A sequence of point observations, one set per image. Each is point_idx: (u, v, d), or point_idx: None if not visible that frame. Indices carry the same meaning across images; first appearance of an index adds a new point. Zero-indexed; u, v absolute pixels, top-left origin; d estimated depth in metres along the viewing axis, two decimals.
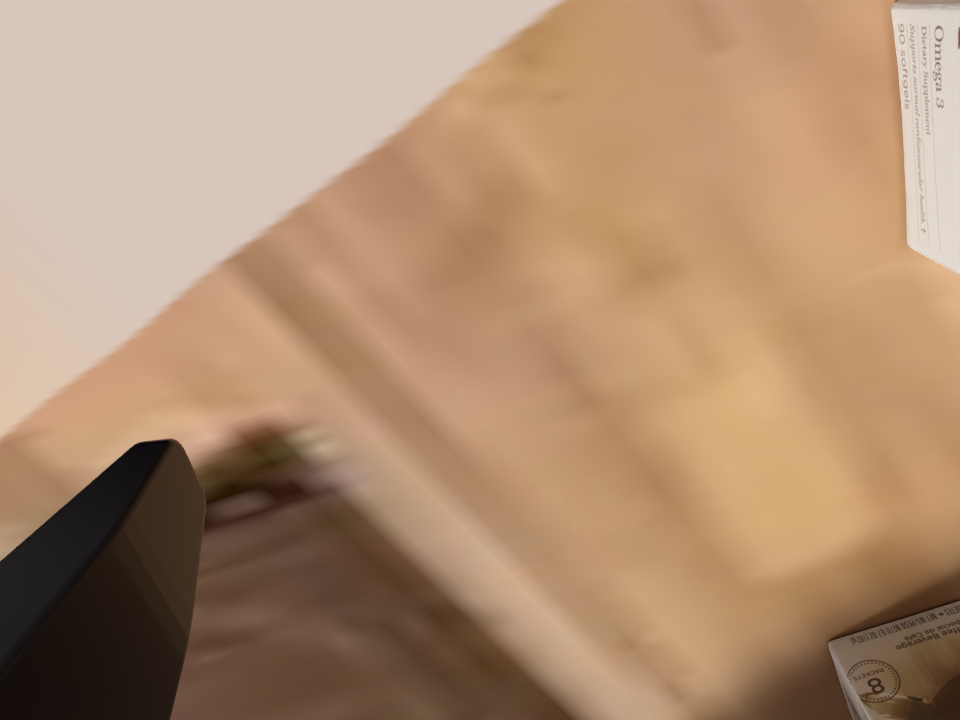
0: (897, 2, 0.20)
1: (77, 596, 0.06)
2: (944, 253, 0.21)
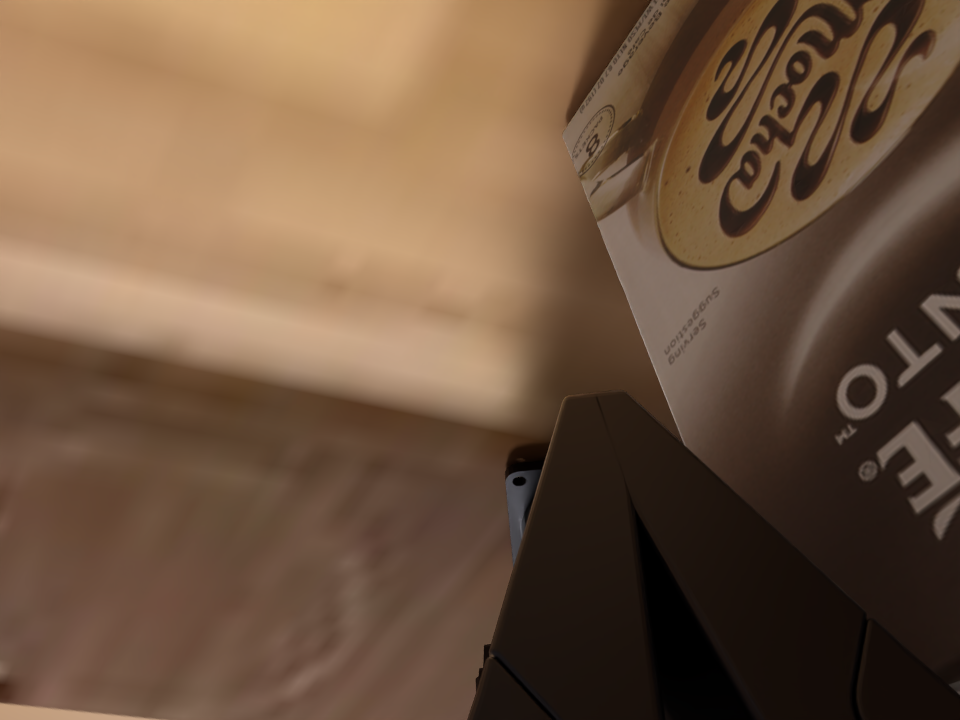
0: None
1: None
2: None
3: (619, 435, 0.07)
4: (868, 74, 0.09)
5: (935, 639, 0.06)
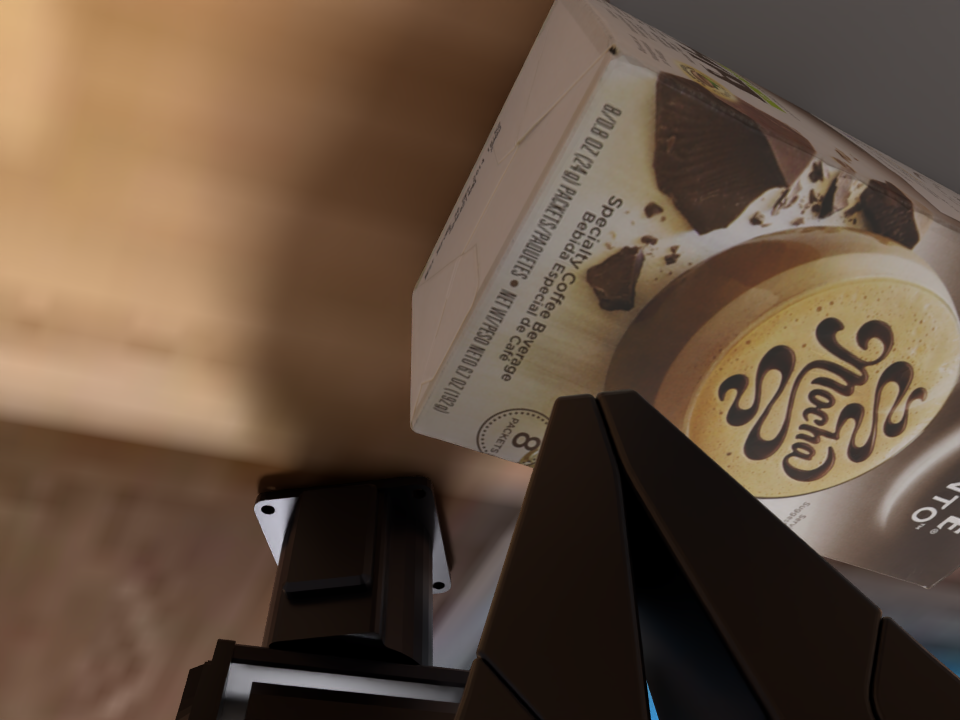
0: None
1: None
2: None
3: (630, 434, 0.07)
4: (886, 405, 0.16)
5: None
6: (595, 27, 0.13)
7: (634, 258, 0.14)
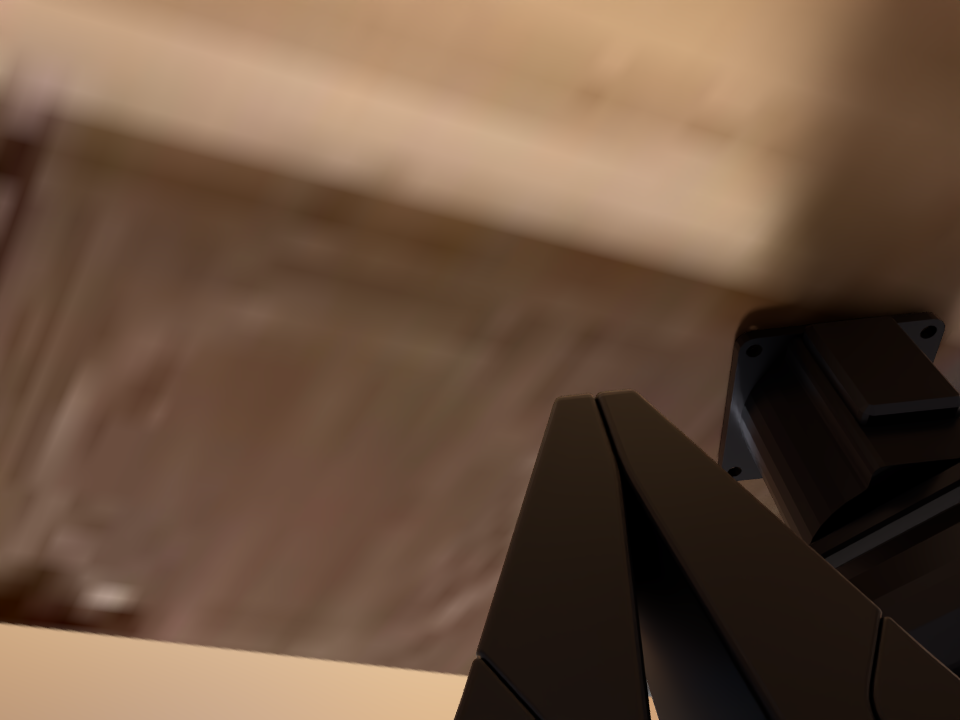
0: None
1: None
2: None
3: (630, 434, 0.07)
4: None
5: None
6: None
7: None
